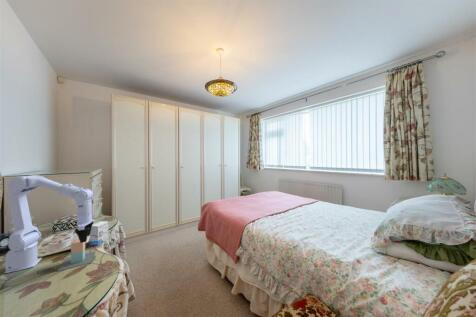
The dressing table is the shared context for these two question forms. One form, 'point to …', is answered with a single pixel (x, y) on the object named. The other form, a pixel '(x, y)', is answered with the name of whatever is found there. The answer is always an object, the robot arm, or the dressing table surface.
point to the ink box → (99, 233)
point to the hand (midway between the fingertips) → (85, 239)
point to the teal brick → (77, 257)
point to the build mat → (86, 260)
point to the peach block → (77, 246)
